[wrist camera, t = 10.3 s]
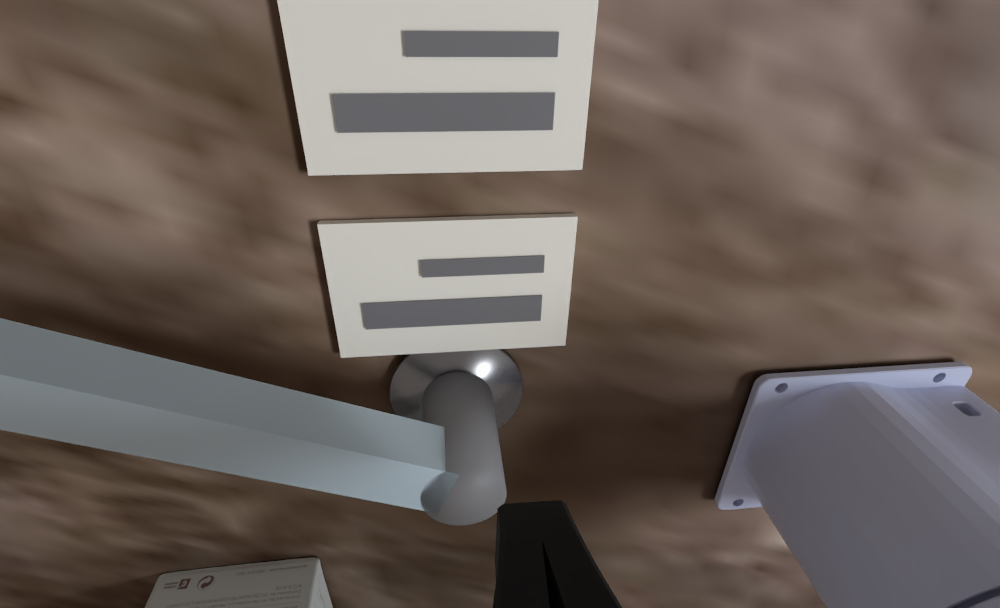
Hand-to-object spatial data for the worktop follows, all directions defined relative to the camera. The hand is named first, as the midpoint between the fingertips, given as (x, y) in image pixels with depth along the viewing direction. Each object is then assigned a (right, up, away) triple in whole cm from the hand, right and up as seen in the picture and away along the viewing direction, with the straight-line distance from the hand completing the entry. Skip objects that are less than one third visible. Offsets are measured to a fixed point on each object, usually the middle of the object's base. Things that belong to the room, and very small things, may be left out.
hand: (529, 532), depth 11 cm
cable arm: (-8, +3, +6) cm, 11 cm away
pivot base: (-2, +2, +9) cm, 9 cm away
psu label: (-2, +11, +3) cm, 12 cm away
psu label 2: (-2, +5, +7) cm, 9 cm away
